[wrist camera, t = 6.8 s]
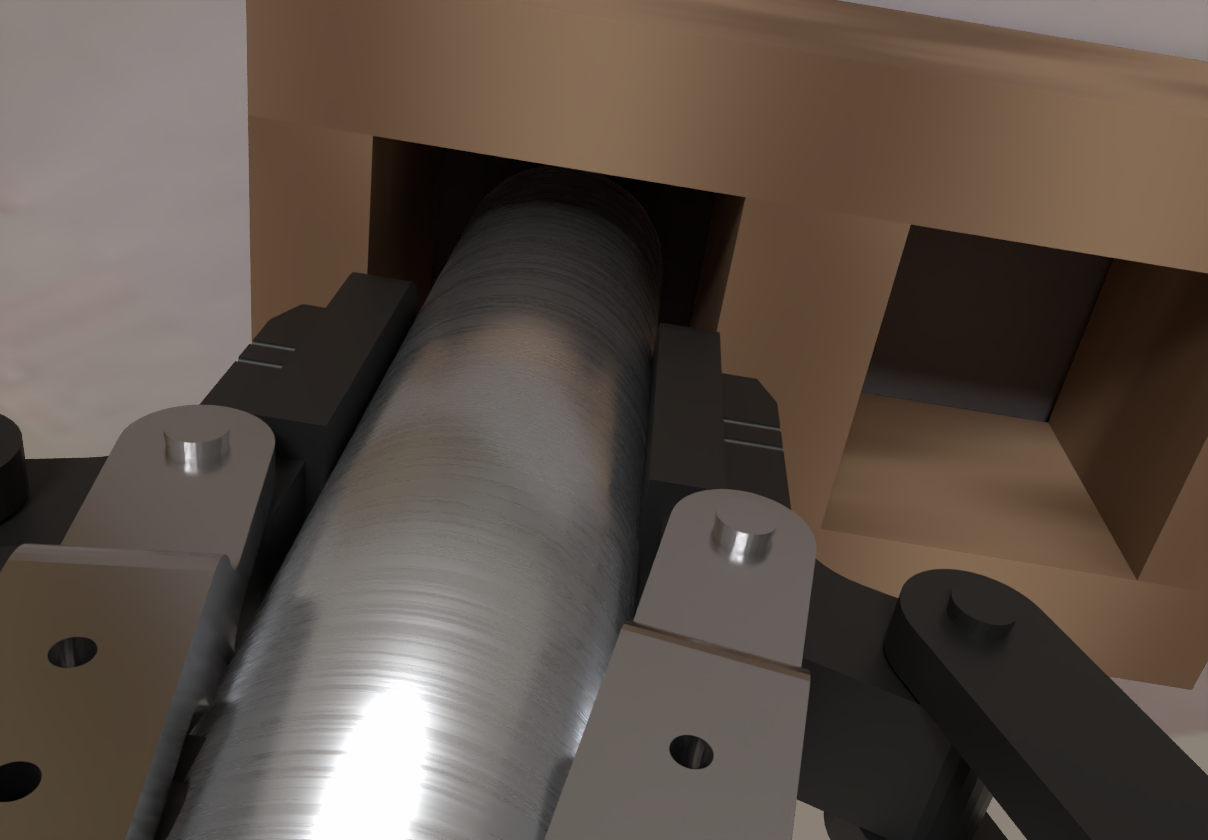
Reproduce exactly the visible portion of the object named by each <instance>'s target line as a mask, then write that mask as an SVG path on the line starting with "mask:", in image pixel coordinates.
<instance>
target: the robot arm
mask: <svg viewBox="0 0 1208 840" xmlns="http://www.w3.org/2000/svg"><path fill="white" fill-rule="evenodd" d="M416 312H417V289H416V284H415V282H412V281H406V280H400V279H394V278H388V277H382V276H375V275H369V274H363V273H357V272H352V273H351V274H350V275H349V277H348V278H347V279H346V281H345V282H344V283H343V285H342V286H341V287H340V289H339V290H338V292H337V293H336V294H335V296H334V297H333V298H332V300H331V301H330V303H329V304H328V305H327V307H326V308H324V307H318V306H312V305H306V304H301V305H299V306H297V307H295V308H293V309H290V310H288V311H286V312H284V313H282V314H280V315H278V316H276V317H273V318H271V319H270V320H269V321H268V322H267V323H266V324H265V326H264V327H263V328H262V329H261V331H260V332H259V333H258V334H257V335H256V337H255V338H254V339H253V343H252V344H249V345H248V346H247V348H246V349H245V350H244V351H243V352H242V354H241V355H240V356H239V360H238V362H236V361H235V362H234V363H233V365H232V366H231V367H230V368H229V369H228V371H227V372H226V373H225V374H224V376H223V377H222V378H221V379H220V380H219V382H218V383H217V384H216V385H215V386H214V388H213V389H212V390H211V391H210V393H209V394H208V395H207V396H206V397H205V399H204V400H203V401H202V402H201V404H200V405H186V406H179V407H172V408H168V409H163V410H160V411H157V412H154V413H151V414H148V415H146V416H144V417H142V418H140V419H138V420H136V421H135V422H133V423H132V424H130V425H129V426H128V427H127V428H126V429H125V430H124V431H123V432H122V433H121V435H120V436H119V438H118V440H117V442H116V443H115V445H114V447H113V449H112V451H111V453H110V454H109V456H104V457H90V458H54V459H25V454H24V448H23V440H22V433H21V431H20V429H19V427H18V426H17V425H16V424H15V423H14V422H13V421H12V420H10V419H9V418H7V417H6V416H3V415H1V414H0V840H166V839H167V837H168V835H169V833H170V831H171V829H172V827H173V825H174V823H175V821H176V819H177V817H178V815H179V814H180V811H181V809H182V807H183V805H184V801H185V798H186V794H187V788H188V784H183V782H184V780H185V778H186V776H187V774H188V773H189V771H190V769H191V767H192V765H193V763H194V761H195V759H196V757H197V755H198V753H199V752H200V750H201V748H202V746H203V744H204V742H205V740H206V738H207V737H201V736H195V735H189V734H190V733H191V732H192V730H193V729H194V727H195V726H196V724H197V723H198V721H199V720H200V718H201V717H202V716H203V715H204V714H205V713H206V712H207V711H208V710H209V709H210V707H211V705H212V702H213V700H214V697H215V695H216V692H217V690H218V687H219V685H220V682H221V680H222V678H223V676H224V673H225V671H226V669H227V667H228V665H229V663H230V661H231V658H232V656H233V654H234V651H235V650H236V648H237V646H238V644H239V642H240V640H241V639H242V637H243V635H244V633H245V631H246V629H247V628H248V626H249V624H250V622H251V620H252V618H253V616H254V615H255V613H256V611H257V609H258V607H259V605H260V604H261V602H262V600H263V598H264V596H265V594H266V593H267V591H268V589H269V587H270V585H271V583H272V582H273V580H274V578H275V576H276V574H277V572H278V571H279V569H280V567H281V565H282V563H283V561H284V560H285V558H286V556H287V554H288V552H289V550H290V549H291V547H292V545H293V543H294V541H295V539H296V538H297V536H298V534H299V532H300V530H301V528H302V526H303V525H304V523H305V521H306V519H307V517H308V515H309V514H310V512H311V510H312V508H313V506H314V504H315V503H316V501H317V499H318V497H319V495H320V493H321V492H322V490H323V488H324V486H325V484H326V482H327V481H328V479H329V477H330V475H331V473H332V471H333V470H334V468H335V466H336V464H337V462H338V460H339V459H340V457H341V455H342V453H343V451H344V449H345V448H346V446H347V444H348V442H349V440H350V438H351V436H352V435H353V433H354V431H355V429H356V427H357V425H358V424H359V422H360V420H361V418H362V416H363V414H364V413H365V411H366V409H367V407H368V405H369V403H370V402H371V400H372V398H373V396H374V394H375V392H376V391H377V389H378V387H379V385H380V383H381V381H382V380H383V378H384V376H385V374H386V372H387V370H388V369H389V367H390V365H391V363H392V361H393V359H394V357H395V356H396V354H397V352H398V350H399V348H400V346H401V345H402V343H403V341H404V339H405V337H406V335H407V334H408V332H409V330H410V328H411V326H412V324H413V323H414V321H415V319H416ZM782 449H783V443H782V435H781V431H780V420H779V412H778V405H777V402H776V401H775V399H774V398H773V397H772V396H771V395H770V394H769V392H768V391H767V390H766V389H765V388H764V386H763V385H762V384H761V383H760V382H759V381H758V379H755V378H749V377H743V376H737V375H731V374H725V373H722V367H721V343H720V332H715V331H708V330H702V329H696V328H690V327H684V326H678V325H672V324H666V323H660V324H659V328H658V332H657V337H656V342H655V347H654V352H653V358H652V370H651V382H650V394H649V406H648V419H647V431H646V443H645V456H644V468H643V480H642V492H641V505H640V517H639V529H638V543H639V552H640V571H639V584H638V598H637V611H636V614H635V617H634V620H633V621H631V620H628V619H626V620H625V622H624V624H623V626H622V629H621V631H620V634H619V636H618V639H617V642H616V644H615V647H614V650H613V653H612V655H611V658H610V661H609V664H608V666H607V669H606V672H605V675H604V677H603V680H602V683H601V686H600V688H599V691H598V694H597V697H596V699H595V702H594V705H593V708H592V710H591V713H590V716H589V719H588V721H587V724H586V727H585V730H584V732H583V735H582V738H581V741H580V743H579V746H578V749H577V752H576V754H575V757H574V760H573V763H572V765H571V768H570V771H569V774H568V776H567V779H566V782H565V785H564V787H563V790H562V793H561V795H560V798H559V801H558V804H557V806H556V809H555V812H554V815H553V817H552V820H551V823H550V826H549V828H548V831H547V834H546V837H545V839H544V840H792V833H793V825H794V816H795V808H796V800H800V801H802V802H804V803H807V804H809V805H811V806H813V807H816V808H818V809H820V810H822V811H824V821H825V827H826V830H827V833H828V835H829V837H830V839H831V840H1008V839H1007V838H1006V837H1005V835H1004V834H1003V833H1002V831H1001V830H1000V829H999V827H998V826H997V825H996V824H995V822H994V821H993V820H992V819H991V817H990V816H989V814H988V813H987V812H986V810H987V808H988V806H989V804H990V802H991V799H992V797H994V798H995V799H996V800H997V802H998V803H999V804H1000V805H1001V807H1002V808H1003V809H1004V810H1005V812H1006V813H1007V814H1008V816H1009V817H1010V818H1011V820H1012V821H1013V822H1014V823H1015V825H1016V826H1017V827H1018V828H1019V830H1020V831H1021V832H1022V834H1023V835H1024V836H1025V837H1026V839H1027V840H1208V775H1207V774H1206V773H1205V772H1204V771H1202V769H1201V768H1200V767H1199V766H1198V765H1197V764H1196V763H1195V762H1194V761H1193V760H1192V759H1190V758H1189V756H1188V755H1187V754H1186V753H1185V752H1184V751H1183V750H1181V748H1180V747H1179V746H1177V745H1176V743H1175V742H1173V740H1172V739H1171V738H1170V737H1169V736H1168V735H1167V734H1166V733H1165V732H1164V731H1163V730H1162V729H1161V728H1160V727H1159V726H1158V725H1157V724H1156V723H1155V722H1154V721H1153V720H1152V719H1151V718H1150V717H1149V716H1148V715H1147V714H1145V713H1144V712H1143V711H1142V710H1141V709H1140V708H1139V707H1138V706H1137V705H1136V704H1135V703H1134V702H1133V701H1132V700H1131V699H1130V698H1129V697H1128V696H1127V695H1126V694H1125V693H1124V692H1123V691H1122V690H1121V689H1120V688H1119V687H1118V686H1117V685H1116V684H1115V683H1114V682H1113V681H1112V680H1111V679H1110V678H1109V677H1108V676H1107V675H1106V674H1105V673H1104V672H1103V671H1102V670H1101V669H1100V668H1099V667H1098V666H1097V665H1096V664H1095V663H1094V662H1093V661H1092V660H1091V659H1090V658H1089V657H1088V656H1087V655H1086V654H1085V653H1084V652H1083V651H1082V650H1081V649H1080V648H1079V647H1078V646H1077V645H1076V644H1075V643H1074V642H1073V641H1072V640H1071V639H1070V638H1069V637H1068V636H1067V635H1066V634H1065V633H1064V632H1063V631H1062V630H1061V629H1060V628H1059V627H1058V626H1057V625H1056V624H1055V623H1054V622H1053V621H1052V620H1051V619H1050V618H1049V617H1048V616H1047V615H1046V614H1045V613H1044V612H1043V611H1042V610H1041V609H1040V608H1039V607H1038V606H1037V605H1036V604H1034V603H1033V602H1032V601H1031V600H1030V599H1028V598H1027V597H1025V596H1024V595H1023V594H1021V593H1020V592H1018V591H1016V590H1015V589H1013V588H1011V587H1009V586H1008V585H1005V584H1003V583H1001V582H999V581H997V580H994V579H992V578H989V577H986V576H984V575H980V574H976V573H973V572H969V571H963V570H957V569H932V570H927V571H923V572H920V573H918V574H915V575H914V576H912V577H911V578H909V579H908V580H907V581H906V582H905V584H904V585H903V587H902V589H901V592H900V595H899V598H896V597H893V596H891V595H888V594H885V593H883V592H880V591H877V590H875V589H872V588H869V587H867V586H864V585H861V584H859V583H857V582H854V581H852V580H849V579H847V578H845V577H843V576H841V575H840V574H838V573H836V572H834V571H832V570H831V569H829V568H828V567H826V566H825V565H823V564H822V563H821V562H820V561H818V560H817V559H816V550H817V548H816V540H815V537H814V534H813V532H812V531H811V529H810V527H809V526H808V525H807V524H806V523H805V521H804V520H803V519H802V518H800V517H799V516H798V515H797V514H796V513H794V512H793V511H791V504H790V496H789V488H788V481H787V473H786V466H785V458H784V451H782Z"/></svg>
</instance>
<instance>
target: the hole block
mask: <svg viewBox="0 0 1208 840" xmlns="http://www.w3.org/2000/svg"><path fill="white" fill-rule="evenodd" d="M246 15H247V75H248V136H249V197H250V258H251V319H252V343H253V339H254V338H255V337H256V335H257V334H258V333H259V332H260V331H261V329H262V328H263V327H264V326H265V324H266V323H267V322H268V321H269V320H270V319H271V318H273V317H276V316H278V315H280V314H282V313H284V312H286V311H288V310H290V309H293V308H295V307H297V306H299V305H301V304H306V305H312V306H318V307H324V308H326V307H327V305H328V304H329V303H330V301H331V300H332V298H333V297H334V296H335V294H336V293H337V292H338V290H339V289H340V287H341V286H342V285H343V283H344V282H345V281H346V279H347V278H348V277H349V275H350V274H351V273H352V272H357V273H363V274H369V275H375V276H382V277H388V278H394V279H400V280H406V281H412V282H415V284H416V289H417V312H416V317H417V315H418V313H419V312H420V310H421V308H422V306H423V304H424V302H425V301H426V299H427V297H428V295H429V293H430V291H431V281H432V267H433V253H434V239H435V225H436V211H437V197H438V183H439V170H440V156H441V147H444V148H450V149H456V150H462V151H468V152H474V153H480V154H487V155H493V156H499V157H505V158H511V159H517V160H523V161H529V162H535V163H541V164H547V165H553V166H559V167H565V168H571V169H578V170H584V171H590V172H596V173H602V174H608V175H614V176H620V177H626V178H632V179H638V180H644V181H650V182H656V183H662V184H669V185H675V186H681V187H687V188H693V189H699V190H705V191H711V192H717V196H716V201H715V206H714V210H713V215H712V220H711V225H710V230H709V235H708V240H707V245H706V250H705V255H704V260H703V265H702V270H701V275H700V280H699V285H698V290H697V294H696V299H695V304H694V309H693V314H692V319H691V324H690V328H696V329H702V330H708V331H715V332H720V343H721V367H722V373H725V374H731V375H737V376H743V377H749V378H755V379H758V381H759V382H760V383H761V384H762V385H763V386H764V388H765V389H766V390H767V391H768V392H769V394H770V395H771V396H772V397H773V398H774V399H775V401H776V402H777V405H778V412H779V420H780V431H781V435H782V443H783V449H782V451H784V458H785V466H786V473H787V481H788V488H789V496H790V504H791V511H793V512H794V513H796V514H797V515H798V516H799V517H800V518H802V519H803V520H804V521H805V523H806V524H807V525H808V526H809V527H810V529H811V531H812V532H813V534H814V537H815V540H816V548H817V550H816V559H817V560H818V561H820V562H821V563H822V564H823V565H825V566H826V567H828V568H829V569H831V570H832V571H834V572H836V573H838V574H840V575H841V576H843V577H845V578H847V579H849V580H852V581H854V582H857V583H859V584H861V585H864V586H867V587H869V588H872V589H875V590H877V591H880V592H883V593H885V594H888V595H891V596H893V597H896V598H899V595H900V592H901V589H902V587H903V585H904V584H905V582H906V581H907V580H908V579H909V578H911V577H912V576H914V575H915V574H918V573H920V572H923V571H927V570H932V569H957V570H963V571H969V572H973V573H976V574H980V575H984V576H986V577H989V578H992V579H994V580H997V581H999V582H1001V583H1003V584H1005V585H1008V586H1009V587H1011V588H1013V589H1015V590H1016V591H1018V592H1020V593H1021V594H1023V595H1024V596H1025V597H1027V598H1028V599H1030V600H1031V601H1032V602H1033V603H1034V604H1036V605H1037V606H1038V607H1039V608H1040V609H1041V610H1042V611H1043V612H1044V613H1045V614H1046V615H1047V616H1048V617H1049V618H1050V619H1051V620H1052V621H1053V622H1054V623H1055V624H1056V625H1057V626H1058V627H1059V628H1060V629H1061V630H1062V631H1063V632H1064V633H1065V634H1066V635H1067V636H1068V637H1069V638H1070V639H1071V640H1072V641H1073V642H1074V643H1075V644H1076V645H1077V646H1078V647H1079V648H1080V649H1081V650H1082V651H1083V652H1084V653H1085V654H1086V655H1087V656H1088V657H1089V658H1090V659H1091V660H1092V661H1093V662H1094V663H1095V664H1096V665H1097V666H1098V667H1099V668H1100V669H1101V670H1102V671H1103V672H1104V673H1105V674H1106V675H1107V676H1109V677H1116V678H1122V679H1128V680H1134V681H1140V682H1146V683H1153V684H1159V685H1165V686H1171V687H1177V688H1183V689H1190V690H1192V688H1193V687H1194V685H1195V683H1196V681H1197V679H1198V678H1199V676H1200V674H1201V672H1202V670H1203V668H1204V667H1205V665H1206V663H1207V661H1208V62H1205V61H1199V60H1193V59H1187V58H1181V57H1175V56H1169V55H1163V54H1157V53H1151V52H1145V51H1139V50H1133V49H1127V48H1121V47H1115V46H1109V45H1103V44H1097V43H1091V42H1084V41H1078V40H1072V39H1066V38H1060V37H1054V36H1048V35H1042V34H1036V33H1030V32H1024V31H1018V30H1012V29H1006V28H1000V27H994V26H988V25H982V24H976V23H970V22H964V21H958V20H952V19H946V18H940V17H934V16H928V15H922V14H916V13H910V12H904V11H898V10H892V9H886V8H880V7H874V6H868V5H862V4H856V3H850V2H844V1H838V0H246ZM911 225H917V226H923V227H929V228H936V229H942V230H948V231H954V232H960V233H966V234H972V235H978V236H984V237H990V238H996V239H1002V240H1008V241H1014V242H1020V243H1027V244H1033V245H1039V246H1045V247H1051V248H1057V249H1063V250H1069V251H1075V252H1081V253H1087V254H1093V255H1099V256H1105V257H1111V258H1114V260H1113V262H1112V264H1111V267H1110V269H1109V272H1108V274H1107V277H1106V279H1105V282H1104V284H1103V287H1102V289H1101V292H1100V294H1099V297H1098V299H1097V302H1096V304H1095V307H1094V309H1093V312H1092V314H1091V317H1090V319H1089V322H1088V324H1087V327H1086V329H1085V332H1084V334H1083V337H1082V339H1081V342H1080V344H1079V347H1078V349H1077V352H1076V354H1075V357H1074V359H1073V362H1072V364H1071V367H1070V369H1069V372H1068V374H1067V377H1066V379H1065V382H1064V384H1063V387H1062V389H1061V392H1060V394H1059V397H1058V399H1057V402H1056V404H1055V407H1054V409H1053V412H1052V414H1051V417H1050V419H1049V422H1048V423H1047V422H1041V421H1035V420H1028V419H1022V418H1016V417H1010V416H1004V415H998V414H992V413H986V412H980V411H973V410H967V409H961V408H955V407H949V406H943V405H937V404H931V403H925V402H919V401H912V400H906V399H900V398H894V397H888V396H882V395H876V394H870V393H864V392H861V390H862V387H863V384H864V380H865V377H866V373H867V370H868V367H869V363H870V360H871V357H872V353H873V350H874V347H875V343H876V340H877V337H878V333H879V330H880V326H881V323H882V320H883V316H884V313H885V310H886V306H887V303H888V300H889V296H890V293H891V289H892V286H893V283H894V279H895V276H896V273H897V269H898V266H899V263H900V259H901V256H902V252H903V249H904V246H905V242H906V239H907V236H908V232H909V229H910V226H911Z"/></svg>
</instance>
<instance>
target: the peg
mask: <svg viewBox="0 0 1208 840" xmlns="http://www.w3.org/2000/svg"><path fill="white" fill-rule="evenodd" d="M661 280H662V253H661V247H660V242H659V239H658V236H657V232H656V230H655V228H654V226H653V223H652V221H651V219H650V218H649V216H648V214H647V213H646V211H645V210H644V208H643V207H642V206H641V205H640V204H639V202H638V201H637V200H636V199H635V198H634V197H633V196H632V195H631V194H630V193H629V192H628V191H627V190H626V189H624V188H623V187H621V186H620V185H619V184H617V183H616V182H614V181H613V180H611V179H609V178H607V177H605V176H603V175H601V174H598V173H596V172H590V171H584V170H578V169H571V168H565V167H559V166H543V167H537V168H532V169H529V170H526V171H522V172H520V173H518V174H515V175H513V176H511V177H509V178H508V179H506V180H504V181H503V182H501V183H500V184H498V185H497V186H496V187H495V188H493V189H492V190H491V191H490V192H489V193H488V194H487V195H486V196H485V197H484V198H483V200H482V201H481V202H480V203H479V205H478V206H477V208H476V209H475V211H474V212H473V214H472V216H471V218H470V220H469V222H468V223H467V225H466V227H465V229H464V231H463V233H462V234H461V236H460V238H459V240H458V242H457V244H456V245H455V247H454V249H453V251H452V253H451V255H450V256H449V258H448V260H447V262H446V264H445V266H444V267H443V269H442V271H441V273H440V275H439V277H438V279H437V280H436V282H435V284H434V286H433V288H432V290H431V291H430V293H429V295H428V297H427V299H426V301H425V302H424V304H423V306H422V308H421V310H420V312H419V313H418V315H417V317H416V319H415V321H414V323H413V324H412V326H411V328H410V330H409V332H408V334H407V335H406V337H405V339H404V341H403V343H402V345H401V346H400V348H399V350H398V352H397V354H396V356H395V357H394V359H393V361H392V363H391V365H390V367H389V369H388V370H387V372H386V374H385V376H384V378H383V380H382V381H381V383H380V385H379V387H378V389H377V391H376V392H375V394H374V396H373V398H372V400H371V402H370V403H369V405H368V407H367V409H366V411H365V413H364V414H363V416H362V418H361V420H360V422H359V424H358V425H357V427H356V429H355V431H354V433H353V435H352V436H351V438H350V440H349V442H348V444H347V446H346V448H345V449H344V451H343V453H342V455H341V457H340V459H339V460H338V462H337V464H336V466H335V468H334V470H333V471H332V473H331V475H330V477H329V479H328V481H327V482H326V484H325V486H324V488H323V490H322V492H321V493H320V495H319V497H318V499H317V501H316V503H315V504H314V506H313V508H312V510H311V512H310V514H309V515H308V517H307V519H306V521H305V523H304V525H303V526H302V528H301V530H300V532H299V534H298V536H297V538H296V539H295V541H294V543H293V545H292V547H291V549H290V550H289V552H288V554H287V556H286V558H285V560H284V561H283V563H282V565H281V567H280V569H279V571H278V572H277V574H276V576H275V578H274V580H273V582H272V583H271V585H270V587H269V589H268V591H267V593H266V594H265V596H264V598H263V600H262V602H261V604H260V605H259V607H258V609H257V611H256V613H255V615H254V616H253V618H252V620H251V622H250V624H249V626H248V628H247V629H246V631H245V633H244V635H243V637H242V639H241V640H240V642H239V644H238V646H237V648H236V650H235V651H234V654H233V656H232V658H231V661H230V663H229V665H228V667H227V669H226V671H225V673H224V676H223V678H222V680H221V682H220V685H219V687H218V690H217V692H216V695H215V697H214V700H213V702H212V705H211V707H210V709H209V710H208V711H207V712H206V713H205V714H204V715H203V716H202V717H201V718H200V720H199V721H198V723H197V724H196V726H195V727H194V729H193V730H192V732H191V733H190V734H189V735H195V736H201V737H207V738H206V740H205V742H204V744H203V746H202V748H201V750H200V752H199V753H198V755H197V757H196V759H195V761H194V763H193V765H192V767H191V769H190V771H189V773H188V774H187V776H186V778H185V780H184V782H183V784H188V788H187V794H186V798H185V801H184V805H183V807H182V809H181V811H180V814H179V815H178V817H177V819H176V821H175V823H174V825H173V827H172V829H171V831H170V833H169V835H168V837H167V839H166V840H544V839H545V837H546V834H547V831H548V828H549V826H550V823H551V820H552V817H553V815H554V812H555V809H556V806H557V804H558V801H559V798H560V795H561V793H562V790H563V787H564V785H565V782H566V779H567V776H568V774H569V771H570V768H571V765H572V763H573V760H574V757H575V754H576V752H577V749H578V746H579V743H580V741H581V738H582V735H583V732H584V730H585V727H586V724H587V721H588V719H589V716H590V713H591V710H592V708H593V705H594V702H595V699H596V697H597V694H598V691H599V688H600V686H601V683H602V680H603V677H604V675H605V672H606V669H607V666H608V664H609V661H610V658H611V655H612V653H613V650H614V647H615V644H616V642H617V639H618V636H619V634H620V631H621V629H622V626H623V624H624V622H625V620H626V619H628V620H631V621H633V620H634V617H635V614H636V611H637V598H638V584H639V571H640V552H639V543H638V529H639V517H640V505H641V492H642V480H643V468H644V456H645V443H646V431H647V419H648V406H649V394H650V382H651V370H652V358H653V352H654V347H655V342H656V337H657V332H658V320H659V306H660V293H661Z"/></svg>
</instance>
